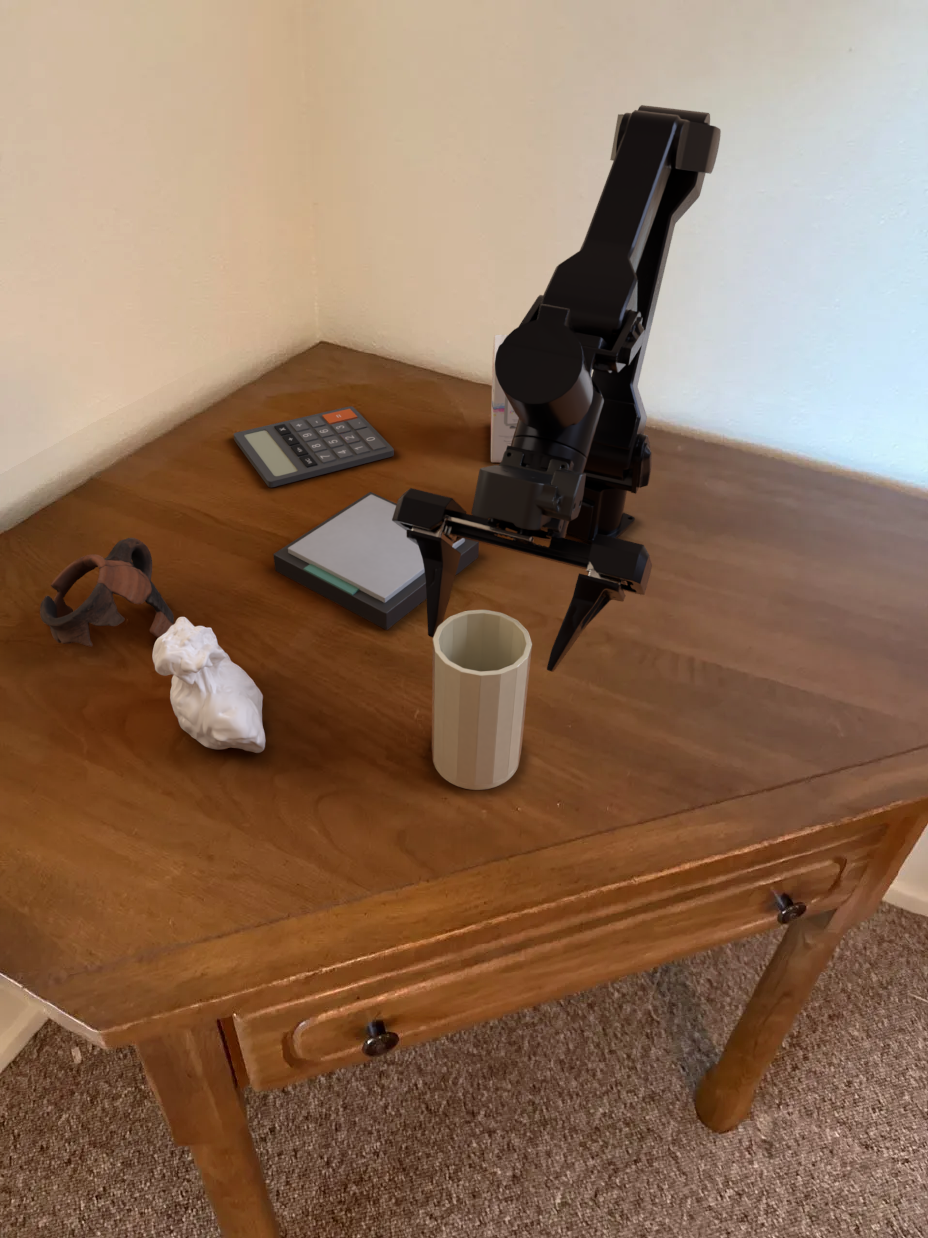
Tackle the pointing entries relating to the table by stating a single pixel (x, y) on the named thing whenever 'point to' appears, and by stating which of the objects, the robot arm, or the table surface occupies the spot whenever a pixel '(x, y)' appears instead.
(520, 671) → the cup
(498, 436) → the ink cartridge box
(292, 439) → the calculator
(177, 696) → the white tied bag
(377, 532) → the scale
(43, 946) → the table surface
